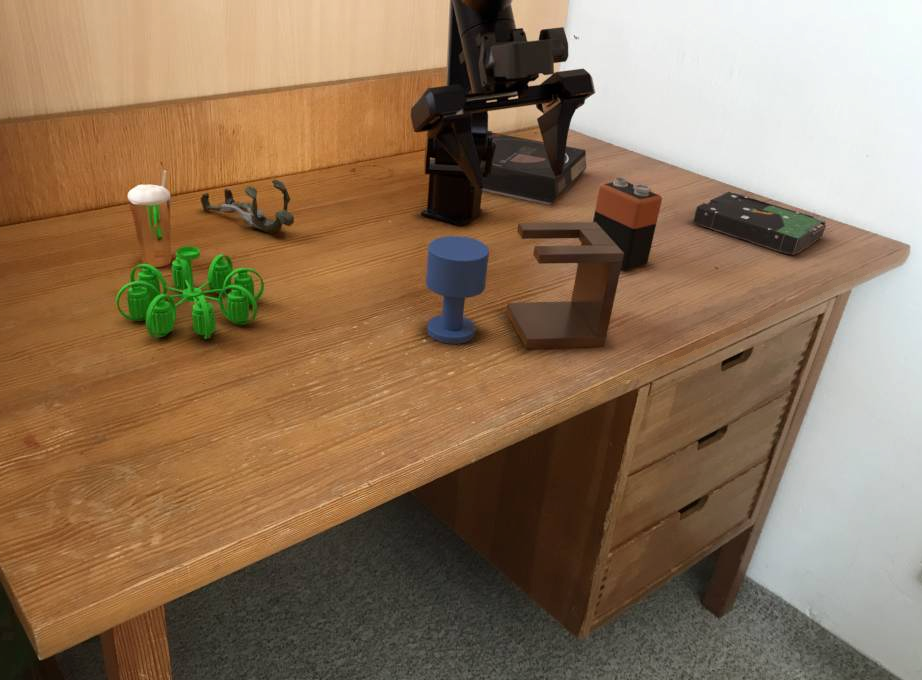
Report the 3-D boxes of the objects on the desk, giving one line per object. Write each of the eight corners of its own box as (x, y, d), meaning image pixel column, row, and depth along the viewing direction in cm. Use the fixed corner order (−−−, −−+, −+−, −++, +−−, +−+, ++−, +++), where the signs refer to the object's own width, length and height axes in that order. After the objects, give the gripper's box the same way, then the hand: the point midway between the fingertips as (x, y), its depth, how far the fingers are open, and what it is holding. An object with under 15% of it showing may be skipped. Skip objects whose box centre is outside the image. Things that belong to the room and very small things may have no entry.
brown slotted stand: (525, 349, 84) (540, 254, 78) (506, 312, 90) (517, 222, 85) (604, 346, 85) (624, 253, 80) (579, 310, 92) (596, 221, 86)
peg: (411, 335, 85) (417, 250, 80) (439, 313, 89) (446, 231, 84) (462, 352, 83) (471, 266, 77) (489, 329, 87) (499, 245, 82)
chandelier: (110, 291, 89) (100, 231, 85) (246, 273, 95) (243, 216, 91) (130, 359, 78) (120, 293, 74) (284, 334, 84) (282, 272, 80)
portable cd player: (554, 206, 119) (558, 179, 117) (447, 183, 125) (449, 157, 123) (585, 175, 132) (589, 150, 130) (486, 155, 138) (488, 131, 136)
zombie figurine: (229, 155, 109) (304, 187, 101) (231, 204, 113) (303, 239, 105) (195, 162, 106) (269, 196, 98) (198, 212, 109) (270, 249, 101)
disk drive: (691, 225, 116) (794, 257, 108) (695, 206, 115) (800, 237, 107) (723, 208, 123) (822, 237, 115) (727, 190, 122) (829, 218, 113)
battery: (624, 272, 101) (641, 194, 96) (585, 252, 106) (599, 176, 100) (648, 265, 103) (666, 188, 98) (609, 246, 108) (624, 171, 103)
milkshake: (190, 256, 98) (181, 174, 92) (160, 273, 94) (149, 188, 88) (159, 248, 99) (149, 167, 94) (128, 264, 95) (116, 180, 90)
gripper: (430, 4, 74) (467, 176, 75) (607, -12, 80) (640, 147, 80) (394, 53, 84) (427, 203, 85) (553, 36, 90) (582, 176, 91)
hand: (520, 182), depth 85 cm, fingers open, 9 cm apart
